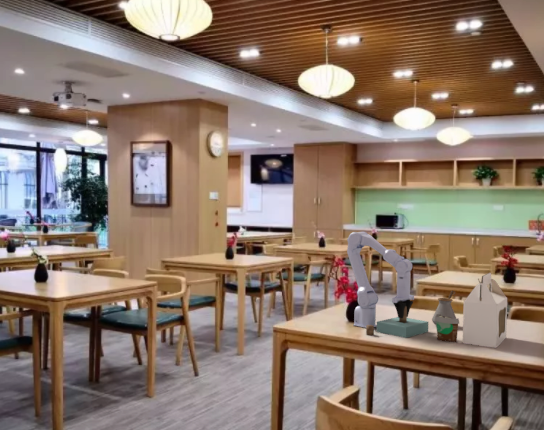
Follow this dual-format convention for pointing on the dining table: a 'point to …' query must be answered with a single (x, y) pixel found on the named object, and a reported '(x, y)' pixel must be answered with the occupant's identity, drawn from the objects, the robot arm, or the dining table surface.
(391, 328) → the hole plate
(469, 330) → the gable box
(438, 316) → the food container
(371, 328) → the short pin
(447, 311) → the coffee pot
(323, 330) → the dining table surface
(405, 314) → the tall pin
